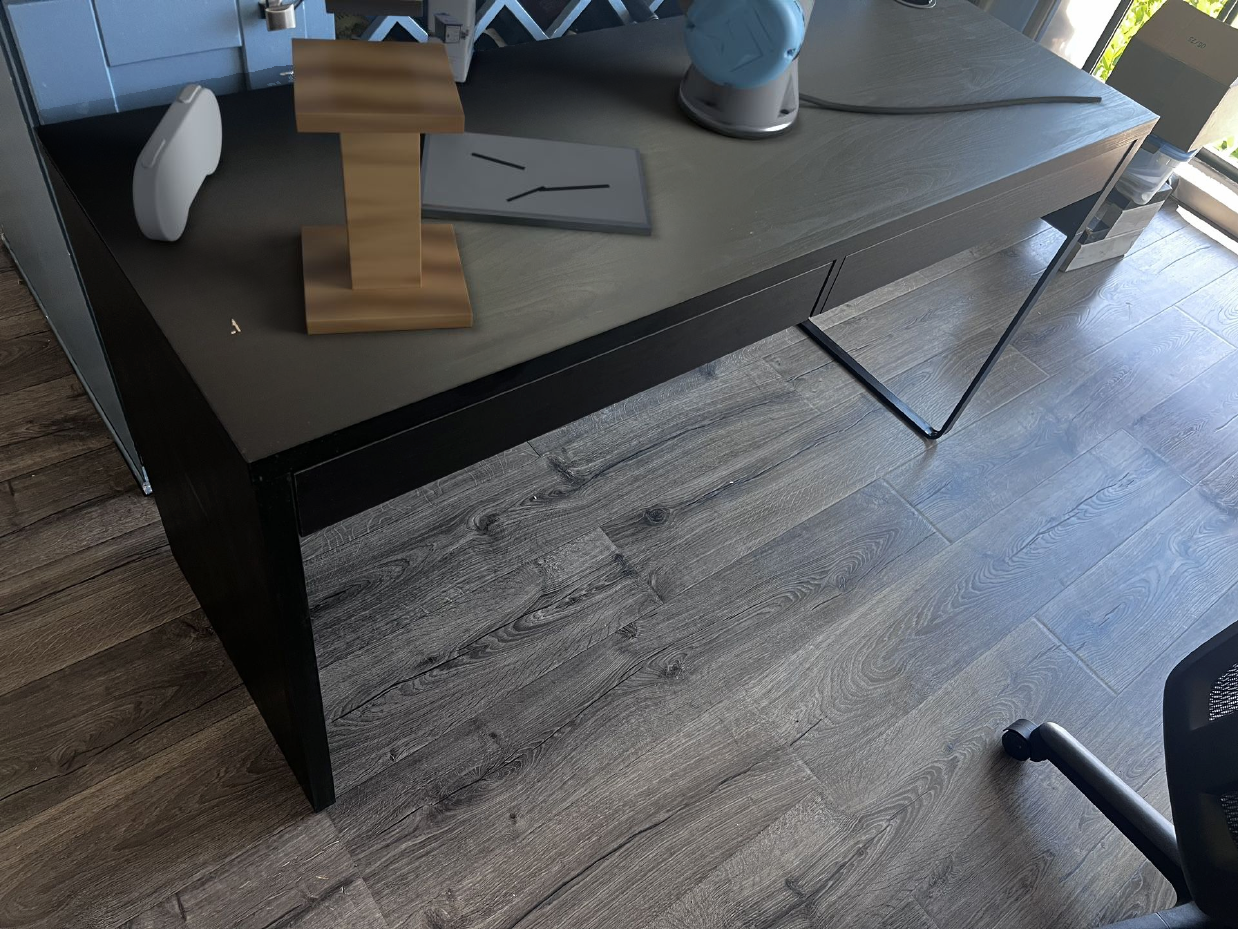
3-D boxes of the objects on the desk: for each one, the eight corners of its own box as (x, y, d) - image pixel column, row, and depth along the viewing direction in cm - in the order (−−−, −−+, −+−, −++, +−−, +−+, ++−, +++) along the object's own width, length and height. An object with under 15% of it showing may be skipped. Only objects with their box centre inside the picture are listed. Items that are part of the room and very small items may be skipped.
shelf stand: (472, 327, 84) (479, 122, 70) (307, 334, 80) (280, 119, 66) (451, 236, 93) (454, 37, 78) (302, 239, 89) (277, 31, 75)
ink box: (436, 47, 120) (437, -52, 111) (476, 53, 120) (479, -45, 112) (426, 77, 114) (425, -25, 105) (467, 83, 114) (470, -17, 106)
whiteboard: (637, 156, 108) (639, 146, 108) (651, 236, 98) (653, 225, 97) (426, 136, 105) (426, 125, 104) (415, 216, 94) (415, 205, 93)
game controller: (204, 146, 97) (188, 67, 91) (227, 149, 97) (213, 70, 91) (143, 256, 84) (120, 173, 78) (169, 259, 84) (149, 176, 78)
